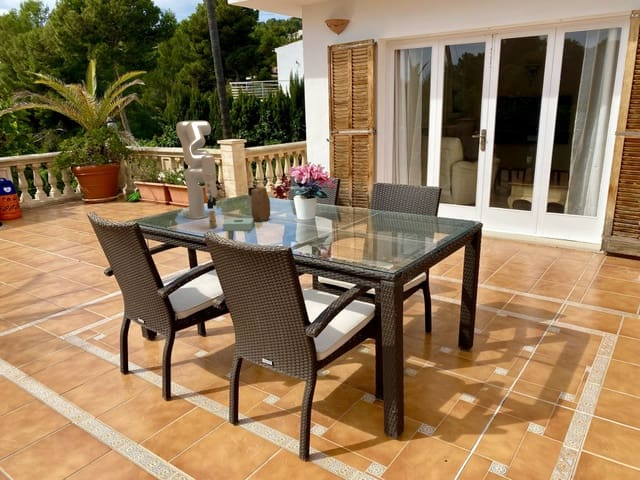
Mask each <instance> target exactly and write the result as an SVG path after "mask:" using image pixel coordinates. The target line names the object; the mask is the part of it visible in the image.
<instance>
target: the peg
mask: <svg viewBox="0 0 640 480" xmlns="http://www.w3.org/2000/svg"><path fill="white" fill-rule="evenodd" d="M216 216H217V215H216V210H209V211H208V218H209V229H210V228H211V230H212V229H213V230H214V229H217V218H216Z"/></svg>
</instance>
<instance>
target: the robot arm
mask: <svg viewBox="0 0 640 480" xmlns="http://www.w3.org/2000/svg"><path fill="white" fill-rule="evenodd" d="M175 129H176V134H177V137H178V139H179V141H180V143H181V148H182V153H183V159H184V163H185V164H186V165H187V166H189V167H188V168H186V169H185V171H184V178H185V184H186V189H187V191H186V192H187V200H188V210H182V214H183V215H187V216H186V217H187V219H190V220H197V219H198V220H199V219H205V218H207V217H208V214H207V213H206V212H205V210H206V209H205V201H204V200H205V198H204V190H205V197H206V201H207V202H206V206H207V207H206V208H207V209H208V210H209V209H210V210H211V209H213V210H214V207H216V206H217V199H216V197H217V195H218V190H217V183H216V180H217V172H216V171H217V169H216V160H215V156H214V155H212V154H210V153H209V151H208V150H207V149H201V148H203V147H204V145H205V143H206V139H205V137H204V136H209V135H211V131H212V127H211V125H210V123H209V122H208V121H206V120H184V121H179V122H177V123H176V128H175ZM199 183H204V187H205V188H204V189H203V187H202V186H201V184H199Z"/></svg>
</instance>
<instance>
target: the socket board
mask: <svg viewBox="0 0 640 480" xmlns="http://www.w3.org/2000/svg"><path fill="white" fill-rule="evenodd" d="M254 222H255V221H254V220H253V218H252V217H239V218H237V217H236V218H225V220H224V221H223V223H222V231H223V232H233V231H234V232H235V231H236V232H238V231H239V232H240V231H252V230H253V228H254V224H255V223H254Z"/></svg>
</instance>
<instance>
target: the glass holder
mask: <svg viewBox="0 0 640 480" xmlns="http://www.w3.org/2000/svg"><path fill="white" fill-rule="evenodd" d="M247 188H248V189H247V190H248V191H247V192H248V193H247V194H248V212H252V205H251V195H252V192H251V191H252V189H255V188H260V186H259V187H257V186H254V187H253V186H252V187H247ZM266 192H267V194H268V193H269V192H268V191H267V190H266Z"/></svg>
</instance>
